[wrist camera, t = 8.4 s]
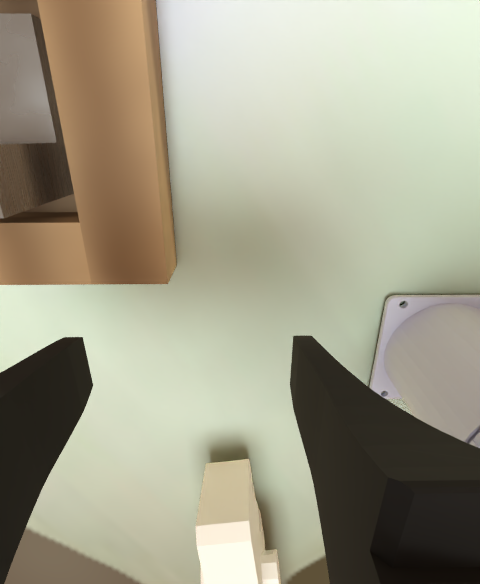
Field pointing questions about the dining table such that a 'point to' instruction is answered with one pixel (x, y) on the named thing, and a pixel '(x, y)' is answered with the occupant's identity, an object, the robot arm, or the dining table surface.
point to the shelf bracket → (232, 528)
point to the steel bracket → (28, 120)
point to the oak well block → (100, 152)
